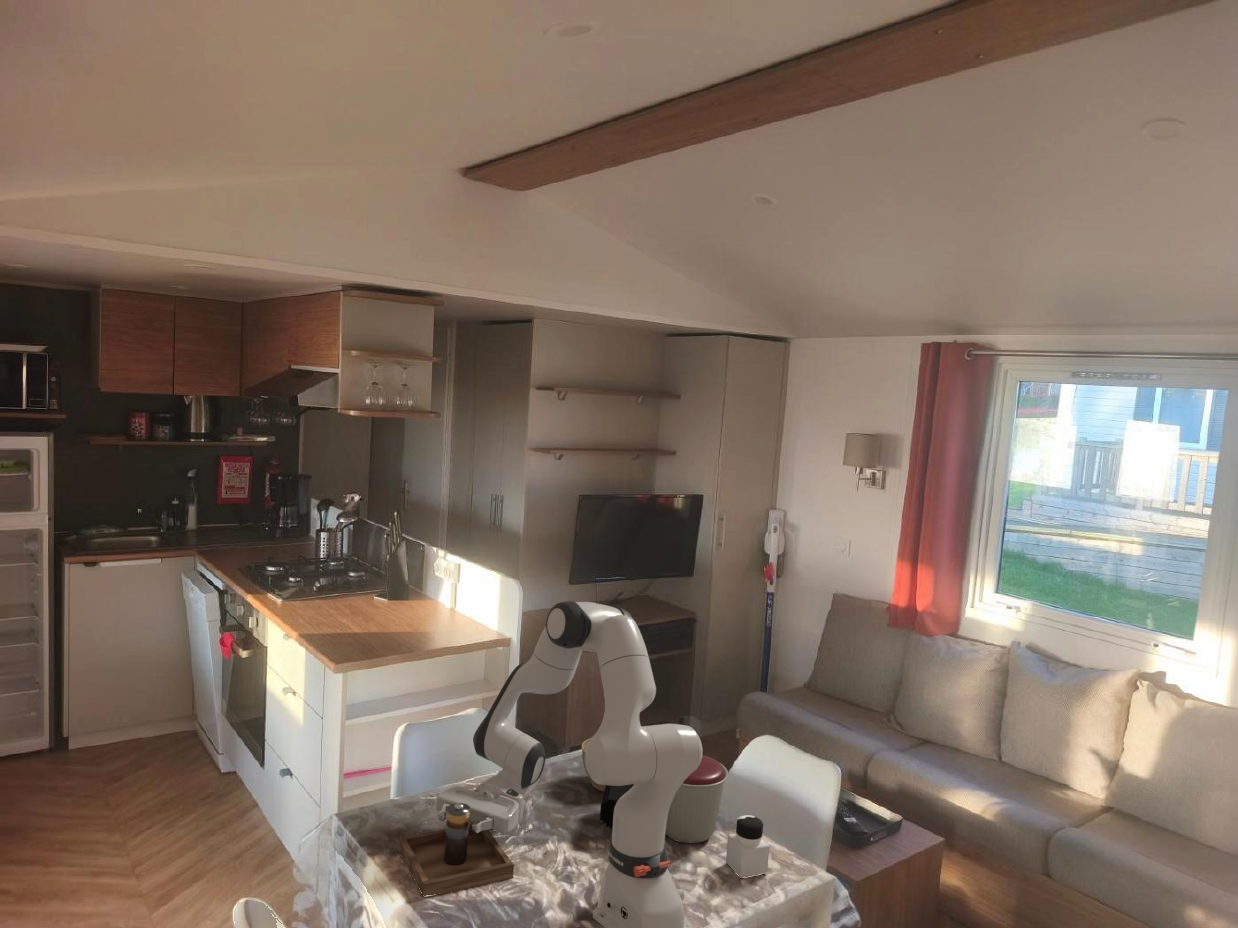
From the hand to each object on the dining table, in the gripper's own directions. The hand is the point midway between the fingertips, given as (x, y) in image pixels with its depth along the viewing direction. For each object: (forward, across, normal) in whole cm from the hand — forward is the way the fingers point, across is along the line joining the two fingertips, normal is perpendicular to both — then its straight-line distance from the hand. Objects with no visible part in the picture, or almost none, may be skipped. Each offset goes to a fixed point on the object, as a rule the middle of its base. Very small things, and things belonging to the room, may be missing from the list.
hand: (456, 823), depth 192 cm
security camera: (-37, +22, +10) cm, 44 cm away
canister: (-42, +39, +10) cm, 58 cm away
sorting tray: (0, 0, +10) cm, 10 cm away
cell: (0, 0, +8) cm, 8 cm away
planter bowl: (-54, +11, +10) cm, 56 cm away
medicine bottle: (-35, +57, +10) cm, 67 cm away
